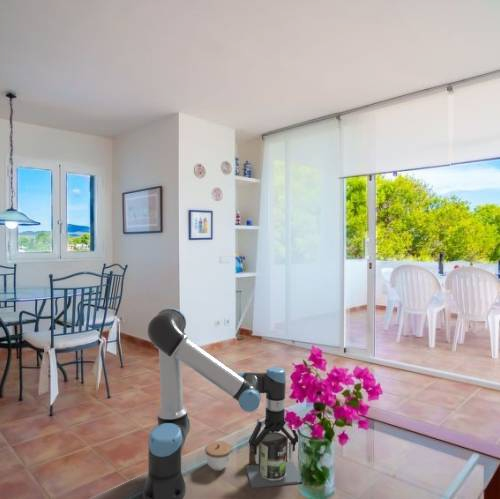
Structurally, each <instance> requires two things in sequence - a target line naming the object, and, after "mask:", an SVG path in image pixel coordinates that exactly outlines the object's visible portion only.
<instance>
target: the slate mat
mask: <svg viewBox="0 0 500 499" xmlns="http://www.w3.org/2000/svg"><path fill="white" fill-rule="evenodd" d="M245 470H246V474H247V477H248V480H249V483H250V484H249V485H250V487H251V489H252V488H253V489H254V488H264V487H273V486H275V487H276V486H283V485H295V484H299V483H298V472H299V471H298V468H297V466H296V464H295V463H294V461H293V460H292V461H286V475H285V477H284V478H283V479H281V480H278V481H271V480H267V479H265V478H263V477H262V476H261V475H260V464H249V465H245Z"/></svg>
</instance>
